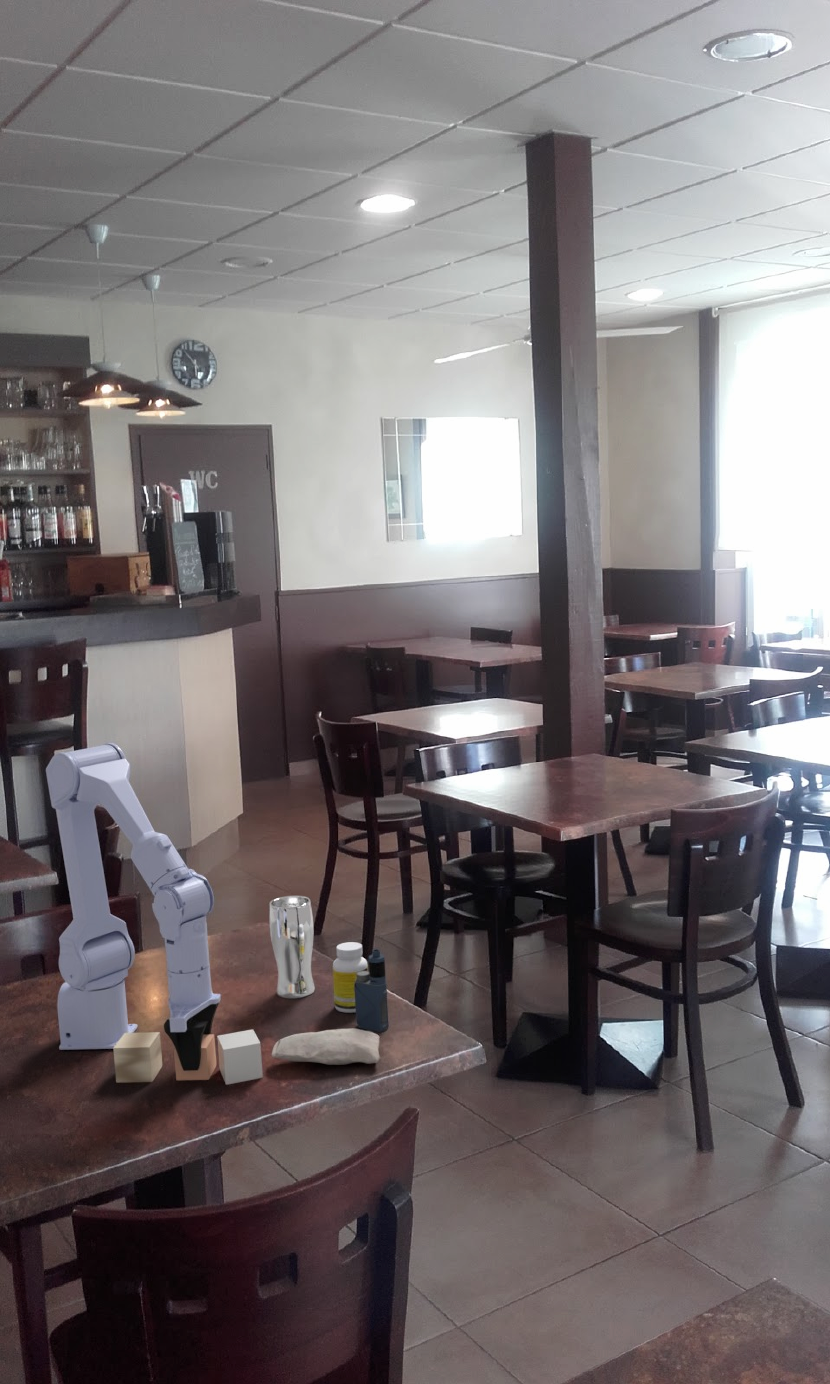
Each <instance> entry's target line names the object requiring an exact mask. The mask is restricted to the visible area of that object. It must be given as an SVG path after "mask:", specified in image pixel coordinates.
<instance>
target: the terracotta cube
mask: <svg viewBox="0 0 830 1384" xmlns="http://www.w3.org/2000/svg"><path fill="white" fill-rule="evenodd" d="M173 1054H174V1055H173V1056H174V1068H175V1079H176V1081H207V1080H210V1078H211V1077H212V1075H213V1073H214V1071H215V1069H216V1067H217V1066H218V1065H217V1052H216V1040H215V1033H214V1034H213V1033H211V1034H208V1035H203V1038H202V1044H201V1060H200V1066H199V1069H198V1070H195V1071H184V1070H183V1068H182V1066H181V1063H180V1060H179V1057H178V1054H177V1051H176V1048H175V1047H174V1048H173Z"/></svg>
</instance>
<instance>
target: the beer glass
mask: <svg viewBox="0 0 830 1384" xmlns="http://www.w3.org/2000/svg"><path fill="white" fill-rule="evenodd" d="M268 904H269V933H270V934H269V935H270V939H271V945H272V949H273V953H274V959H275V961H276V967H277V971H278V972H277V974H278V975H277V976H278V977H277V986H276V987H277V988H276V995H278V996H279V997H280V998H283V999H302V998H305V997H308V996H310V995H312V994H313V993H314V992H315V990H316V987H315V984H314V983H315V982H314V979H313V975H312V957H313V956H312V953H313V947H314V934H315V933H314V932H315V931H314V930H315V929H314V917H313V909H312V904H311V899H310V898H309V897H308V896H304V895H286V896H280V897H278V898H277V897H276V898H274V899H271V901H269V903H268Z"/></svg>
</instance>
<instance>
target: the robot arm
mask: <svg viewBox="0 0 830 1384" xmlns="http://www.w3.org/2000/svg"><path fill="white" fill-rule="evenodd" d="M45 773H46V774H45V775H46V780H47V786H48V792H49V799H50V804H51V807H52V808H53V809H54V810H55V812H56V818H57V825H58V831H59V837H60V844H61V849H62V855H63V861H64V863H63V864H64V868H65V874H66V881H67V887H68V891H69V893H68V894H69V898H70V899H69V900H70V906H71V912H72V918H73V919H72V921H71V922H70V923H69V925H67V927H66V928H65V930H64V931H63V932H62V933H61V935H60V936H59V938H58V941H59V956H58V970H59V971H60V975H61V977H62V979H63V980H64V982H63V983H62V985H61V986H60V988H59V989H58V995H57V1007H56V1008H57V1016H58V1019H57V1020H58V1027H59V1029H58V1030H59V1038H60V1044H59V1047H58V1049H59V1050H61V1051H62V1050H63V1051H64V1050H67V1051H69V1050H73V1051H74V1050H102V1049H103V1050H106V1049H108V1050H111V1049H113V1048H114V1046H115V1045H116V1044H117V1043H118V1041H119V1040H120V1039H121V1037H122V1036H123V1035H124V1033H135V1031H136V1030H137V1029H138V1024H137V1023H129V1021H128V1009H127V1007H128V1006H127V996H126V994H127V993H126V986H125V978H126V977H128V976H129V969H130V968H132V967H133V964H134V962H135V957H136V953H135V952H136V951H135V946H134V943H133V941H132V939H131V937H130V935H129V932H128V927H127V923H126V922H125V920H123V919H121V918H119V917H117V916H115V915H113V914H111V910H110V902H109V898H108V891H107V885H106V878H105V873H104V872H105V871H104V866H103V860H102V854H101V853H102V852H101V848H100V841H99V835H98V828H97V822H96V816H95V809H96V807H98V805H102V806H103V807H104V809H105V810H106V811H107V813H108V814H109V815H110V817H111V818H112V820H113V821H114V822H115V824H116V825H117V826H118V827H119V829H120V830H121V832H122V833H123V834H124V835H125V837H126V838H127V840H128V841H129V842H130V843H131V845H132V847H131V851H130V859H131V860H132V862H133V864H134V866H135V867H136V869H137V870H138V872H139V874H140V875H141V878H142V879H143V880H144V882H145V884H146V885H147V887H148V888H149V890H150V891H151V894H152V895H153V896H154V898H153V902H152V903H151V906H152V911H153V914H154V917H155V919H156V921H157V922H158V925H159V934H161V937H162V938H163V939H164V947H165V949H164V950H165V959H166V972H167V983H168V985H167V986H168V996H169V997H168V999H167V1004H168V1008H169V1012H170V1014H169V1015H170V1017H169V1019H168V1018H167V1019H166V1020H165V1022H164V1023H163V1029H164V1032H165V1034H166V1035H167V1036H168V1037H169V1039H170V1040H171V1042H172V1044H173V1046H174V1048H176V1051H177V1054H178V1057H179V1060H180V1063H181V1066H182V1068H183V1070H184V1071H195V1070H198V1069H199V1066H200V1060H201V1044H202V1038H203V1035H208V1034H212V1027H213V1021H214V1017H215V1014H216V1011H217V1009H218V1006H219V1004H220V1001H221V999H222V998H221V997H222V995H221V993H213V992H214V991H213V989H212V979H211V965H210V952H209V951H210V950H209V940H208V938H209V937H208V925H207V916H208V915H209V914H211V912H212V911H213V909H214V905H215V897H214V891H213V888H212V886H211V885H210V883H209V882H210V881H209V880H208V879H207V878H206V877H205V876H204V875H202V874H199V873H197V872H196V871H195V869H192V868H189V867H188V865H186V863H185V861H184V859H183V858H182V857H181V855H180V853H179V852H178V850H177V848H175V845H174V844H173V843H172V840H170V838H169V836H168V835H167V834H164V833H161V832H157V831H155V829H154V827H153V826H152V824H151V822H150V820H149V818H148V816H147V814H146V812H145V810H144V808H143V806H142V805H141V802H140V800H139V799H138V796H137V795H136V792H135V791H134V789H133V787H132V785H131V783H130V776H131V764H130V762H128V760H127V758H126V755H125V753H124V752H123V750H122V749H121V748H120V747H119V745H117V744H116V743H113V742H108V743H104V744H102V745H96V746H93V747H87V748H82V749H78V750H70V751H67V752H63V751H61V752H58V753H55V754H54V755H53V756H52V758H51V759H50V761H49V763H48V764H47V766H46V768H45Z"/></svg>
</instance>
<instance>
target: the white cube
mask: <svg viewBox="0 0 830 1384" xmlns="http://www.w3.org/2000/svg"><path fill="white" fill-rule="evenodd" d="M216 1037H217V1038H216V1039H217V1051H218V1061H219V1063H218V1064H219V1071H220V1073H221V1076H222V1078H223V1081H224V1082H225V1085H231V1084H237V1083H241V1082H242V1083H243V1082H247V1081H251V1080H252V1081H253V1080H259V1079H262V1078H263V1077H264V1076H263V1063H262V1060H263V1059H262V1046H261V1041H260V1039H259V1038H258V1036H257V1034H256V1032H255V1031H254V1028H253V1029H247V1030H241V1031H236V1032H230V1033H226V1034H220V1035H216Z"/></svg>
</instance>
